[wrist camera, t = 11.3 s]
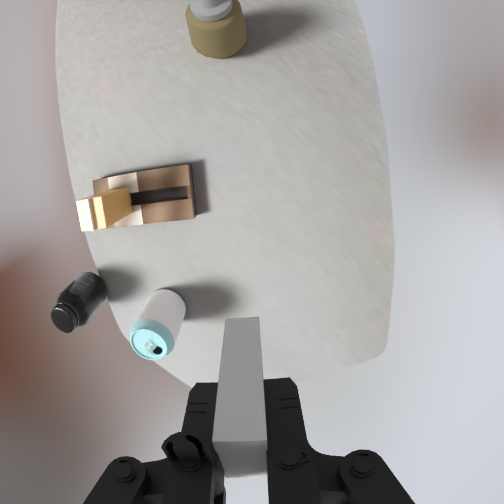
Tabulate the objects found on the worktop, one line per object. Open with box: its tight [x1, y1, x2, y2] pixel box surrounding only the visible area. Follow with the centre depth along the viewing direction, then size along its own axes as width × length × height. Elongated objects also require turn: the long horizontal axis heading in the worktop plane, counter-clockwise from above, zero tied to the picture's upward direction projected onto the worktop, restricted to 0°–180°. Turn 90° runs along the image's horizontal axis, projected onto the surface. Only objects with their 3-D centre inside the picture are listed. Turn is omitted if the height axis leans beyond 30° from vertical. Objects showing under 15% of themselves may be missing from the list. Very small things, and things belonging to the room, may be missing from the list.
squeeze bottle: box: [186, 0, 248, 59], centre depth 26 cm, size 8×8×18 cm
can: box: [130, 289, 186, 360], centre depth 43 cm, size 7×7×12 cm
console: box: [92, 164, 197, 229], centre depth 41 cm, size 16×8×3 cm, turn 94°
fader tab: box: [76, 187, 132, 231], centre depth 36 cm, size 4×4×11 cm
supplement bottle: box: [51, 272, 107, 333], centre depth 42 cm, size 7×7×12 cm
